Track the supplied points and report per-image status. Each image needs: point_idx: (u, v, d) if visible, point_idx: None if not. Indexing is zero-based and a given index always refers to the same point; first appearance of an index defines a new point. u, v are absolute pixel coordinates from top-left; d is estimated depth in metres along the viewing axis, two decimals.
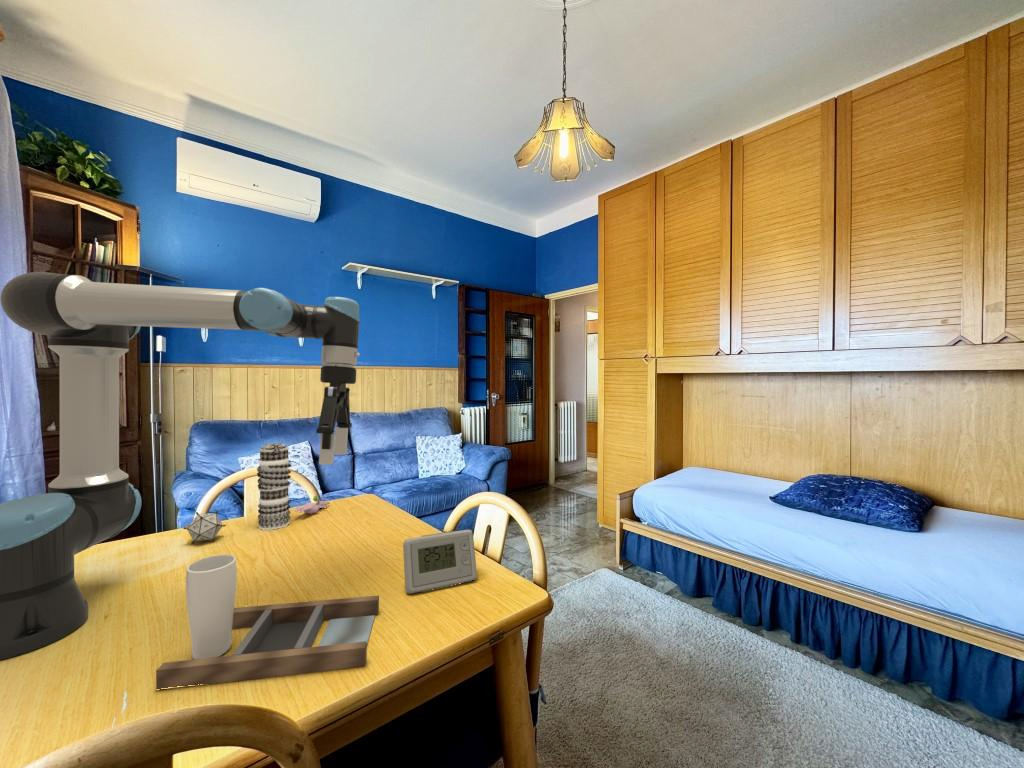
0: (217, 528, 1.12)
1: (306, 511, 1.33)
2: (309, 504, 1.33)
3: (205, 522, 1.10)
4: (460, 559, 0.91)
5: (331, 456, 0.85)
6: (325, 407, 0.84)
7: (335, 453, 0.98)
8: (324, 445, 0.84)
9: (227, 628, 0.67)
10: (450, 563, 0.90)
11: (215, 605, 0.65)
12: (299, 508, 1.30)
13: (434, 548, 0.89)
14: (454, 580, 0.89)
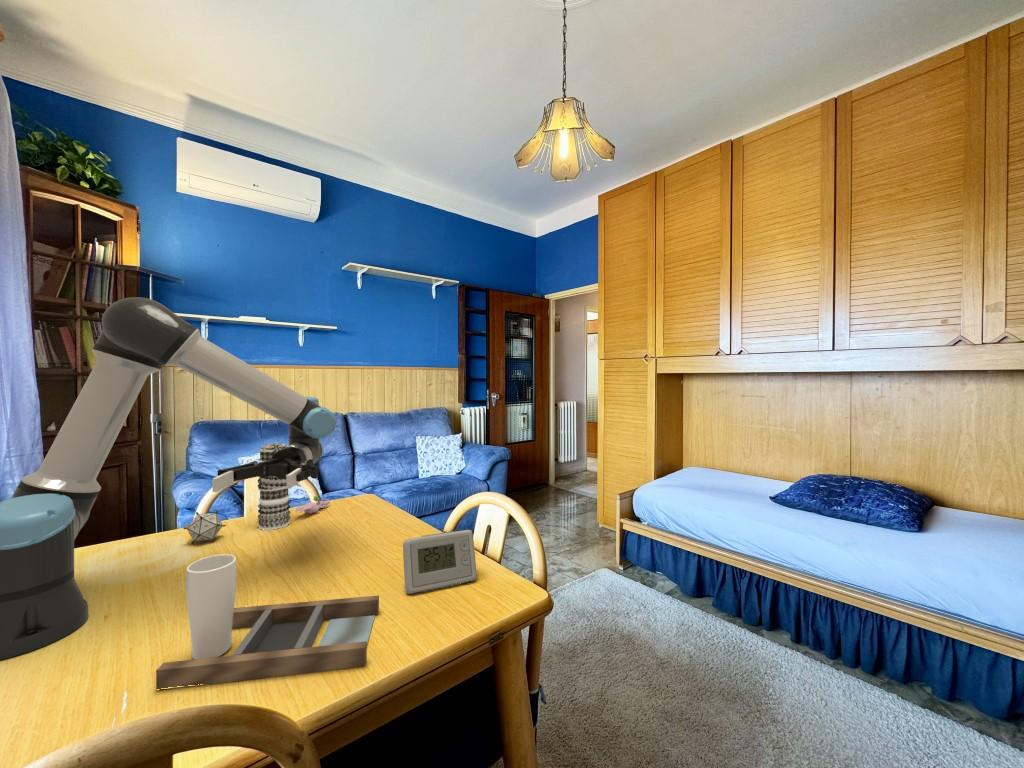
0: (217, 528, 1.12)
1: (306, 511, 1.33)
2: (309, 504, 1.34)
3: (205, 522, 1.10)
4: (460, 559, 0.91)
5: (293, 484, 0.84)
6: None
7: (217, 479, 0.81)
8: (303, 475, 0.87)
9: (227, 628, 0.67)
10: (450, 563, 0.90)
11: (215, 605, 0.65)
12: (299, 508, 1.31)
13: (434, 548, 0.89)
14: (454, 580, 0.89)
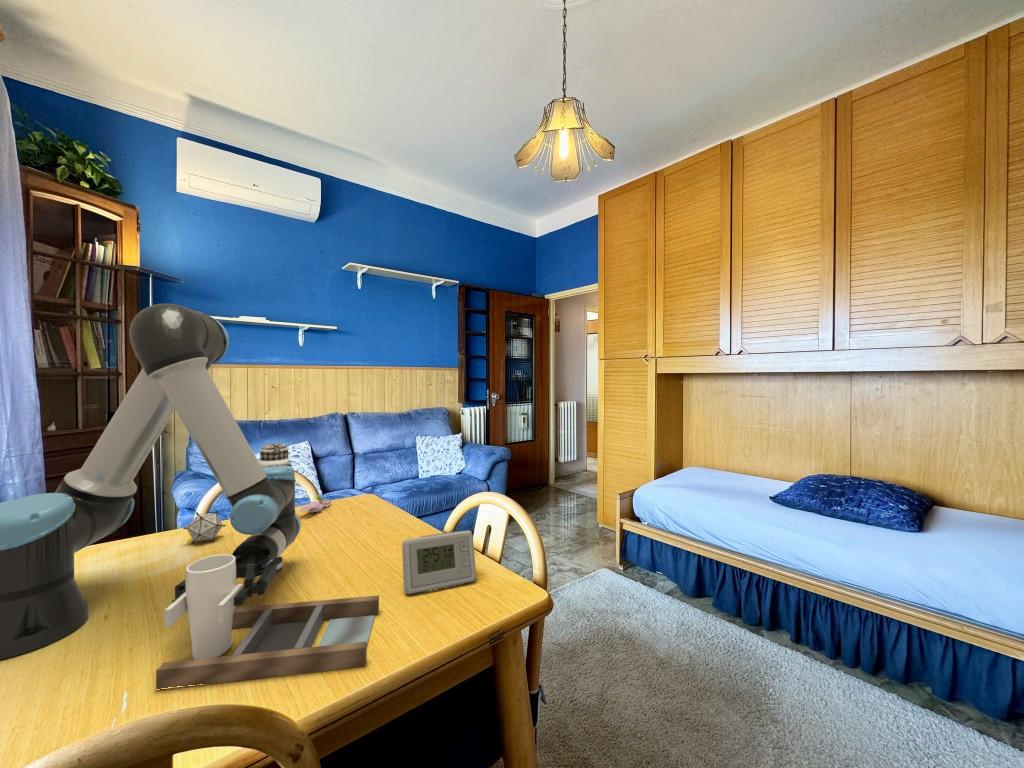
0: (217, 528, 1.12)
1: (310, 510, 1.34)
2: (313, 503, 1.34)
3: (205, 522, 1.10)
4: (459, 560, 0.90)
5: (228, 613, 0.65)
6: (272, 571, 0.75)
7: (171, 610, 0.62)
8: (243, 597, 0.67)
9: (227, 628, 0.67)
10: (449, 564, 0.89)
11: (215, 605, 0.65)
12: (304, 507, 1.31)
13: (433, 549, 0.89)
14: (453, 581, 0.88)
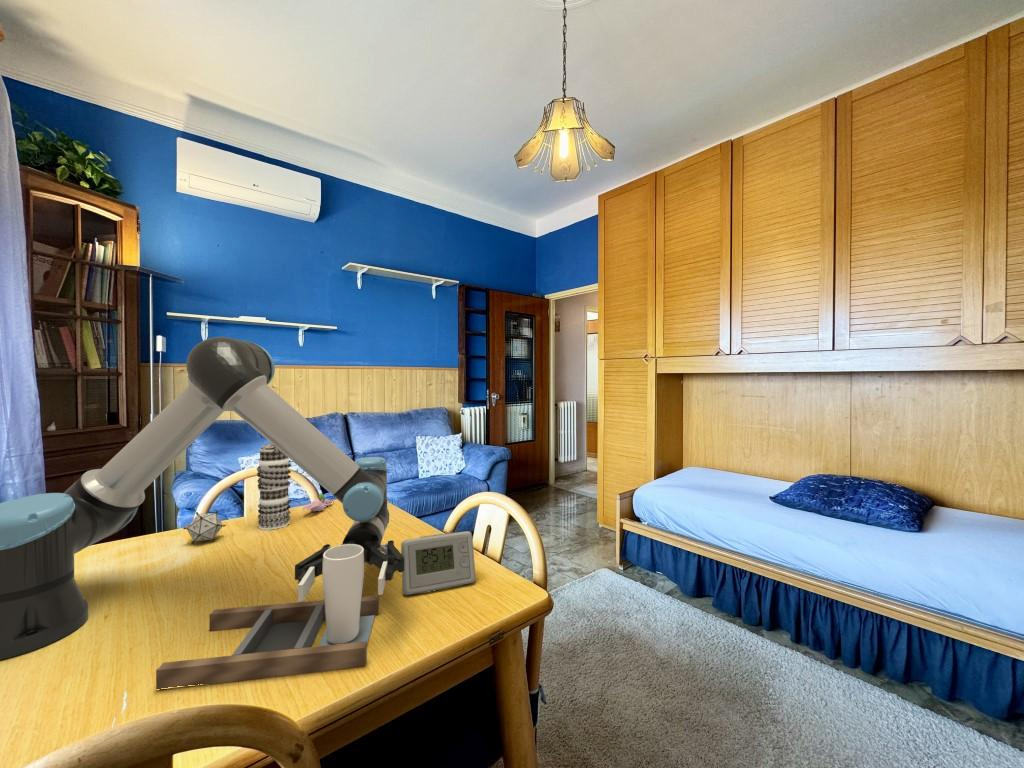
0: (216, 528, 1.12)
1: (313, 509, 1.35)
2: (316, 502, 1.36)
3: (205, 522, 1.10)
4: (458, 561, 0.90)
5: None
6: None
7: (303, 585, 0.66)
8: None
9: (358, 614, 0.71)
10: (448, 565, 0.89)
11: (350, 591, 0.69)
12: (306, 506, 1.32)
13: (432, 550, 0.89)
14: (452, 582, 0.88)
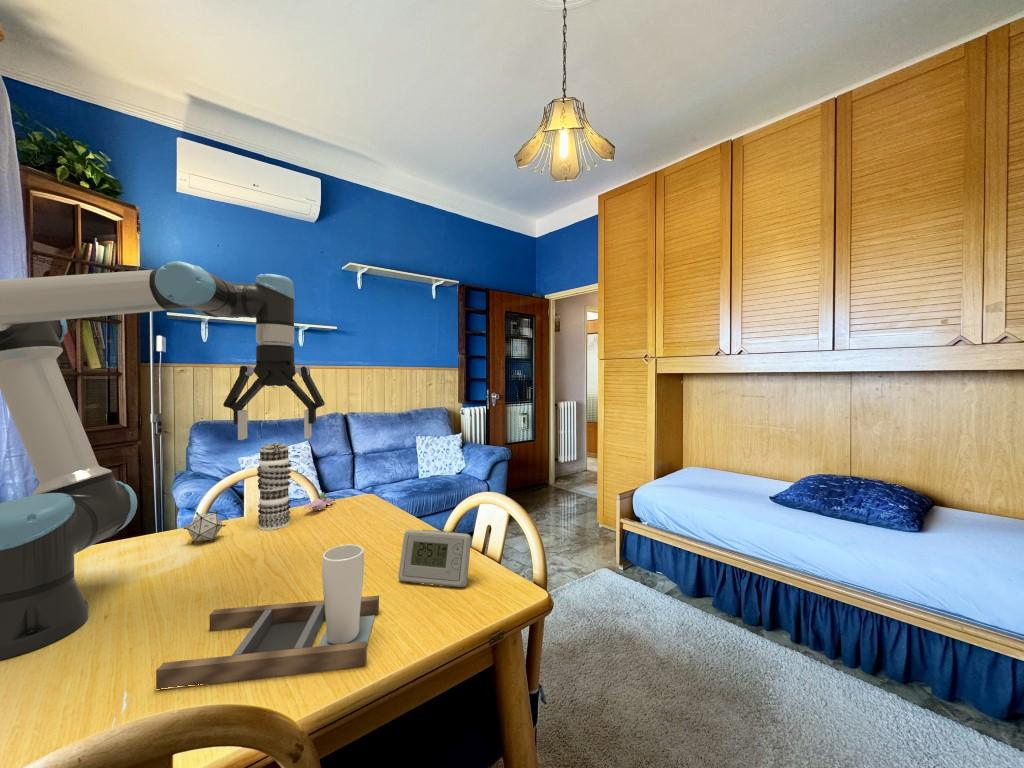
0: (217, 528, 1.12)
1: (314, 508, 1.36)
2: (317, 501, 1.37)
3: (205, 522, 1.10)
4: (450, 562, 0.89)
5: None
6: (313, 385, 0.93)
7: (242, 438, 0.90)
8: (314, 419, 0.93)
9: (358, 614, 0.71)
10: (441, 563, 0.90)
11: (350, 592, 0.68)
12: (308, 505, 1.34)
13: (428, 544, 0.91)
14: (441, 580, 0.88)
